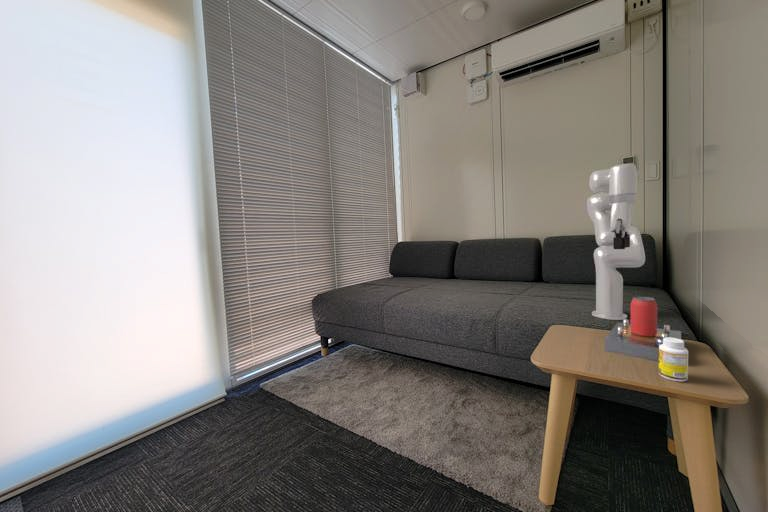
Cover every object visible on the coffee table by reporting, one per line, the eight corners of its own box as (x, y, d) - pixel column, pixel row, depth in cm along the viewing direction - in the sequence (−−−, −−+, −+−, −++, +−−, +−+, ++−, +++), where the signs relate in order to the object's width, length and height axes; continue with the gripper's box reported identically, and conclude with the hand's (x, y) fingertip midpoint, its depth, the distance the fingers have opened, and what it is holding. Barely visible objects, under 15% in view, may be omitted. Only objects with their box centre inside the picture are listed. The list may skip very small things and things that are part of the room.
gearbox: (618, 330, 114) (619, 313, 114) (681, 340, 102) (681, 321, 101) (604, 350, 97) (604, 329, 97) (677, 365, 85) (677, 341, 84)
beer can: (646, 330, 101) (646, 295, 101) (662, 337, 95) (663, 300, 94) (625, 330, 102) (625, 296, 101) (640, 337, 95) (640, 300, 95)
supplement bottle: (665, 370, 82) (665, 334, 81) (692, 379, 77) (693, 341, 76) (653, 375, 80) (654, 338, 79) (681, 384, 75) (682, 345, 74)
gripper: (613, 202, 114) (613, 246, 115) (603, 200, 102) (603, 249, 104) (639, 200, 109) (638, 246, 110) (632, 197, 97) (631, 250, 98)
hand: (621, 248), depth 107 cm, fingers open, 9 cm apart
